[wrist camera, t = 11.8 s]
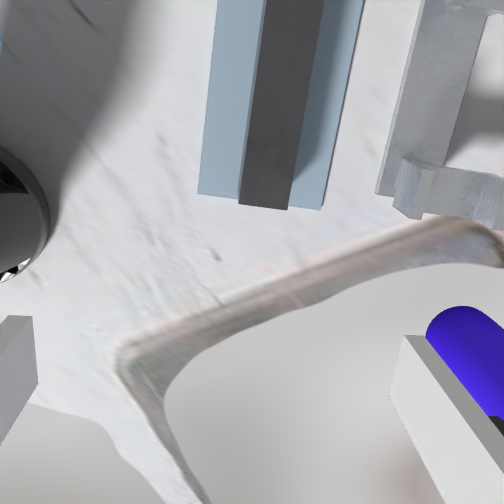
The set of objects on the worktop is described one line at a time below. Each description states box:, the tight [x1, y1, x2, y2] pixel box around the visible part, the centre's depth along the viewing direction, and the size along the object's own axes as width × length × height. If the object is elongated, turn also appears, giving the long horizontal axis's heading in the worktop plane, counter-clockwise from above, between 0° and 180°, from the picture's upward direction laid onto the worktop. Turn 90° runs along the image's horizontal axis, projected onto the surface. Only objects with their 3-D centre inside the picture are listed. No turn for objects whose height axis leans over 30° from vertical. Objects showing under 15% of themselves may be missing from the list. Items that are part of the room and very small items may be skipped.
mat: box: [197, 0, 363, 210], centre depth 42 cm, size 13×26×1 cm, turn 172°
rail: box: [237, 0, 325, 210], centre depth 39 cm, size 24×4×6 cm, turn 172°
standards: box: [375, 0, 504, 231], centre depth 38 cm, size 8×21×12 cm, turn 172°
